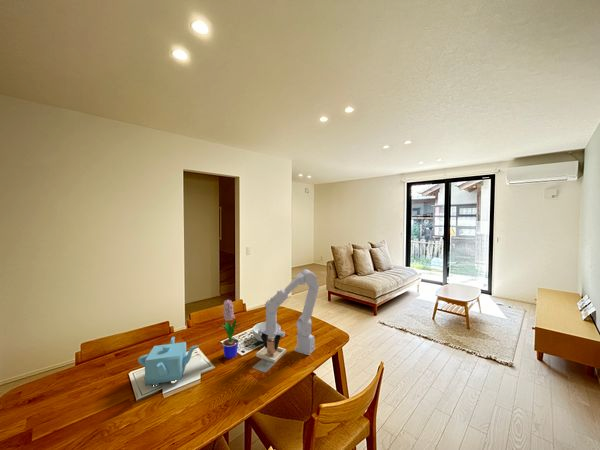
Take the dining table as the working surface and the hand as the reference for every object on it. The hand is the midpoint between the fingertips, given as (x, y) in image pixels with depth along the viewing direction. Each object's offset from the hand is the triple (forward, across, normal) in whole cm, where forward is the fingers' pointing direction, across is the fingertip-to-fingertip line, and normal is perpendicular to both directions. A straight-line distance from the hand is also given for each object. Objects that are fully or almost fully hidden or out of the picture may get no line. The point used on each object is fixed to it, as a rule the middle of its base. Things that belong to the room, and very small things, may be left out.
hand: (271, 348), depth 125 cm
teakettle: (+3, +39, +28) cm, 48 cm away
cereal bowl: (+4, +9, -15) cm, 18 cm away
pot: (+2, 0, 0) cm, 2 cm away
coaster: (+4, 0, +10) cm, 11 cm away
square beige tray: (+4, 0, 0) cm, 4 cm away
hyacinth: (+4, +20, +6) cm, 21 cm away
